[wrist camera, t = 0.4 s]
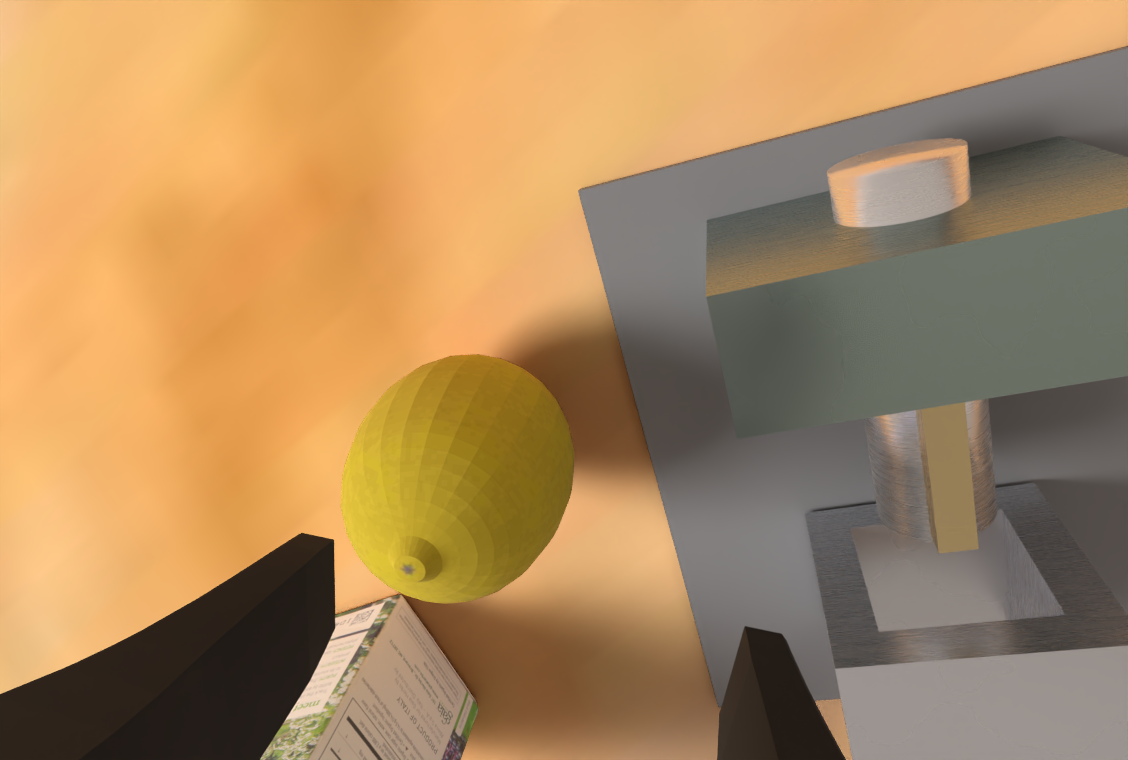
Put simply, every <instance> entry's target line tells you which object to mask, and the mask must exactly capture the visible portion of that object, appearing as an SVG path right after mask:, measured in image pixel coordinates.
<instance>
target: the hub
mask: <svg viewBox="0 0 1128 760" xmlns="http://www.w3.org/2000/svg"><path fill="white" fill-rule="evenodd" d="M996 501H997V515H996V518H995V520H994V521H993V523H992V524H991V525H990V526H989V527H988V528H986V529H985V530H984V531H982V532H980V533H978V534H977V535H978V545H979V549H975V550H966V551H957V552H948V553H940V554H939V553H938V550H937V548H936V546H935V544H934V542H928V541H920V540H915V539H910V538H907V537H904V536H902V535H899V534H897V533H895V532H893V531H891V530H890V529H889V528H887V527H886V526H885V525H884V524H883V523H882V521H881V520H880V518H879V516H878V511H877V504H870V505H862V506H855V507H847V508H839V509H832V510H824V511H817V512H809V513H805V517H806V522H807V528H808V533H809V538H810V543H811V548H812V554H813V559H814V564H815V569H816V574H817V580H818V585H819V590H820V595H821V601H822V606H823V611H824V616H825V621H826V626H827V632H828V637H829V642H830V647H831V652H832V657H833V662H834V667H835V673H836V678H837V683H838V688H839V693H840V698H841V703H842V708H843V714H844V719H845V724H846V729H847V734H848V739H849V744H850V749H851V755H852V760H1128V615H1127V613H1126V612H1125V611H1124V609H1123V608H1122V606H1121V605H1120V603H1119V602H1118V601H1117V599H1116V598H1115V596H1114V595H1113V594H1112V592H1111V591H1110V589H1109V588H1108V587H1107V585H1106V584H1105V582H1104V581H1103V579H1102V578H1101V577H1100V575H1099V574H1098V572H1097V571H1096V570H1095V568H1094V567H1093V565H1092V564H1091V562H1090V561H1089V560H1088V558H1087V557H1086V555H1085V554H1084V553H1083V551H1082V550H1081V548H1080V547H1079V546H1078V544H1077V543H1076V541H1075V540H1074V538H1073V537H1072V536H1071V534H1070V533H1069V531H1068V530H1067V529H1066V527H1065V526H1064V524H1063V523H1062V522H1061V520H1060V519H1059V517H1058V516H1057V514H1056V513H1055V512H1054V510H1053V509H1052V507H1051V506H1050V505H1049V503H1048V502H1047V500H1046V499H1045V498H1044V496H1043V495H1042V493H1041V492H1040V490H1039V489H1038V488H1037V486H1036V485H1035V483H1028V484H1020V485H1013V486H1005V487H998V488H996Z"/></svg>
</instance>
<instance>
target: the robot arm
mask: <svg viewBox="0 0 1128 760" xmlns="http://www.w3.org/2000/svg"><path fill="white" fill-rule="evenodd" d="M334 630H335V575H334V540H333V539H328V538H323V537H318V536H314V535H309V534H304V533H301V534H299V535H297V536H296V537H294V538H292V539H291V540H289V541H288V542H286V543H284V544H283V545H281V546H280V547H278V548H277V549H275V550H274V551H272V552H270V553H269V554H267V555H266V556H264V557H263V558H261V559H260V560H258V561H257V562H255V563H253V564H252V565H250V566H249V567H247V568H246V569H244V570H243V571H241V572H239V573H238V574H236V575H235V576H233V577H232V578H230V579H228V580H227V581H225V582H224V583H222V584H220V585H219V586H217V587H216V588H214V589H212V590H211V591H209V592H208V593H206V594H204V595H203V596H201V597H199V598H198V599H196V600H194V601H193V602H191V603H189V604H187V605H186V606H184V607H182V608H180V609H179V610H177V611H175V612H173V613H172V614H170V615H168V616H166V617H165V618H163V619H161V620H159V621H158V622H156V623H154V624H152V625H150V626H149V627H147V628H145V629H143V630H142V631H140V632H138V633H136V634H134V635H132V636H130V637H128V638H126V639H124V640H122V641H120V642H118V643H116V644H114V645H112V646H110V647H108V648H106V649H104V650H102V651H100V652H98V653H96V654H94V655H91V656H89V657H87V658H85V659H83V660H81V661H79V662H77V663H74V664H72V665H70V666H68V667H66V668H63V669H61V670H58V671H56V672H54V673H51V674H49V675H46V676H44V677H41V678H39V679H36V680H34V681H31V682H29V683H27V684H24V685H22V686H19V687H17V688H14V689H12V690H9V691H7V692H5V693H2V694H0V760H260V759H261V757H262V755H263V754H264V752H265V751H266V749H267V748H268V746H269V745H270V743H271V742H272V740H273V738H274V737H275V735H276V734H277V732H278V731H279V729H280V728H281V726H282V725H283V723H284V721H285V720H286V718H287V717H288V715H289V714H290V712H291V710H292V709H293V707H294V706H295V704H296V703H297V701H298V699H299V698H300V696H301V695H302V693H303V691H304V690H305V688H306V687H307V685H308V683H309V682H310V680H311V678H312V676H313V674H314V672H315V670H316V668H317V666H318V664H319V662H320V660H321V658H322V656H323V654H324V652H325V649H326V647H327V645H328V643H329V641H330V639H331V636H332V634H333V632H334ZM717 760H846V759H845V757H844V756H843V754H842V752H841V750H840V748H839V746H838V745H837V743H836V741H835V739H834V737H833V735H832V734H831V732H830V730H829V728H828V726H827V724H826V723H825V721H824V719H823V717H822V715H821V713H820V711H819V709H818V707H817V705H816V703H815V701H814V699H813V697H812V695H811V693H810V691H809V689H808V687H807V685H806V683H805V680H804V678H803V676H802V674H801V672H800V670H799V668H798V665H797V663H796V661H795V659H794V656H793V654H792V652H791V650H790V647H789V645H788V643H787V640H786V639H785V638H784V636H783V635H782V634H781V633H776V632H771V631H767V630H762V629H757V628H752V627H748V626H745V627H744V630H743V633H742V637H741V640H740V644H739V647H738V651H737V654H736V658H735V661H734V665H733V668H732V672H731V675H730V679H729V682H728V686H727V689H726V693H725V696H724V700H723V703H722V707H721V710H720V714H719V734H718V757H717Z"/></svg>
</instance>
